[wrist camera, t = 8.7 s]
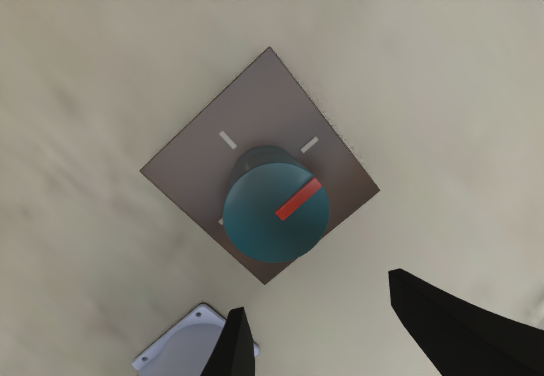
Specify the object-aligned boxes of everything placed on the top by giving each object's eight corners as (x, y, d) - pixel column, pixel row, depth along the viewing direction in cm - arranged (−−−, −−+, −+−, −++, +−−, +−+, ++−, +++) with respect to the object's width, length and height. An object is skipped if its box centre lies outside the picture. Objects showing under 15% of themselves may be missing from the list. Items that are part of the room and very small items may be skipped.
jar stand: (367, 183, 22) (382, 191, 19) (262, 269, 23) (264, 286, 21) (267, 53, 18) (270, 45, 16) (150, 165, 19) (137, 171, 17)
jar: (265, 228, 19) (274, 285, 13) (215, 180, 18) (197, 218, 11) (316, 182, 19) (353, 218, 12) (268, 129, 17) (282, 138, 11)
